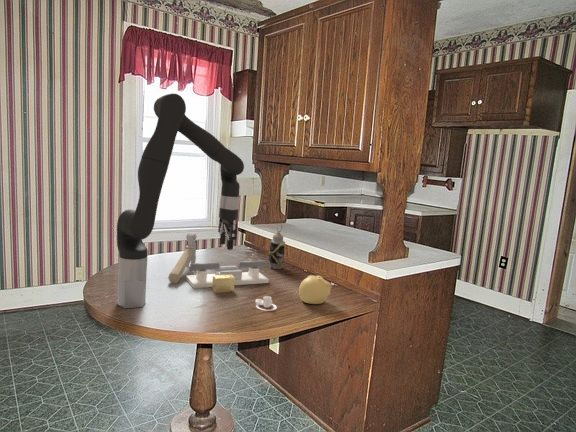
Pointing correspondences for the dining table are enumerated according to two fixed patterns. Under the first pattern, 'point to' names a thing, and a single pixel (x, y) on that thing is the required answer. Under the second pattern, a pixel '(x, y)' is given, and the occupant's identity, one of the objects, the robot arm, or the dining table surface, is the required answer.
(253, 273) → the shaft rig
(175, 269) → the hammer
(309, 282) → the tan round ball
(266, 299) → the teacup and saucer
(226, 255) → the dining table surface
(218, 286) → the gold rectangular block
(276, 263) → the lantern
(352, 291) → the dining table surface
